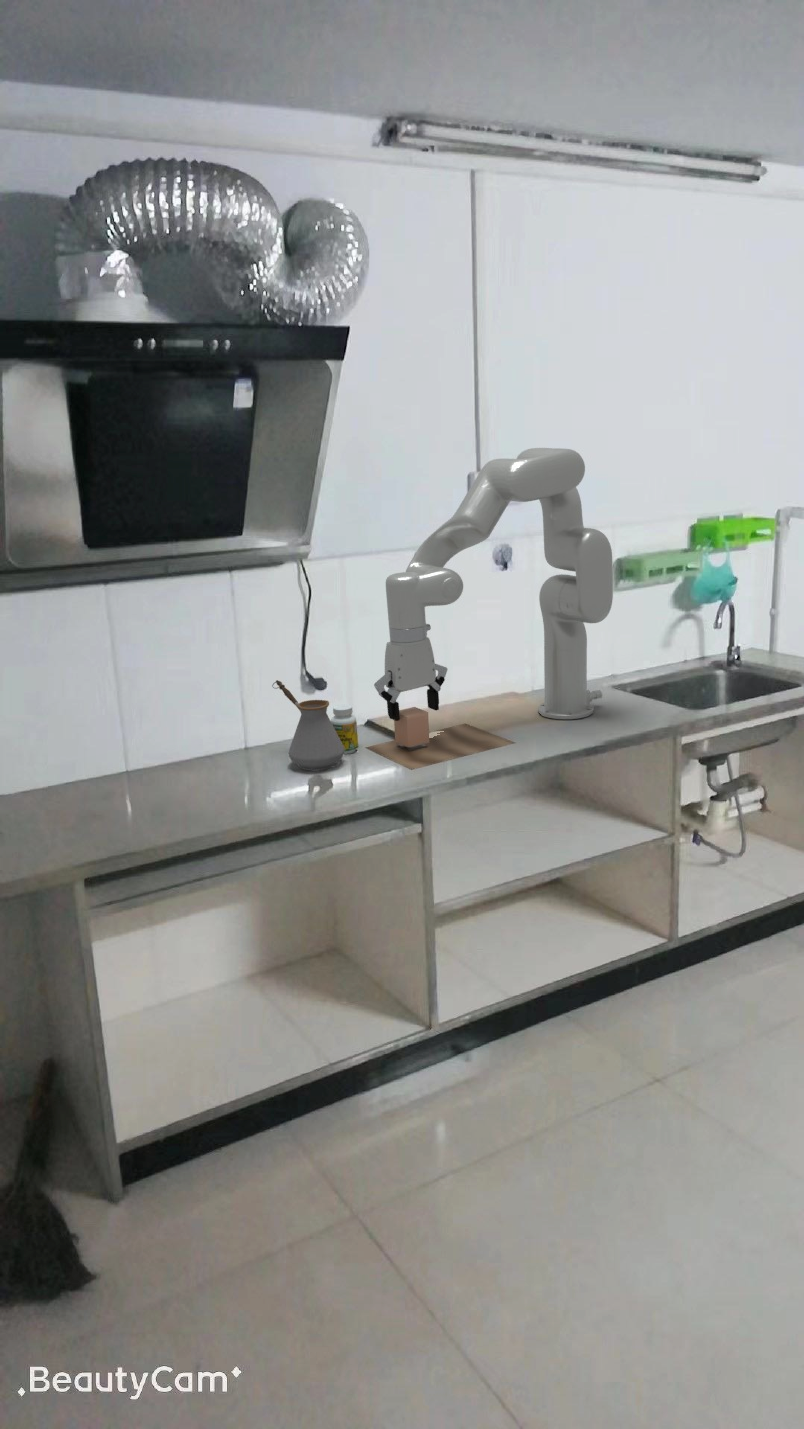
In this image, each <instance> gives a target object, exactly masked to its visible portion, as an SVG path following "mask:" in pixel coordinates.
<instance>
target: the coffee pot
mask: <svg viewBox="0 0 804 1429" xmlns="http://www.w3.org/2000/svg"><path fill="white" fill-rule="evenodd" d="M275 684H276V686H277V687H274V685H275ZM271 687H272V688H273V689H275V690H276V689H279V690H282V693H284V694H283V695H284V696H286V698H287V699H289V701H290V702H291V703H292V704H293V705H294V706H295V707H296V708H297V709H298V710H299V712H300V718H299V721H298V723H297V726H296V728H295V732H294V734H293V738H292V740H291V743H290V746H289V749H288V757H289V759H290V760H291V761H292V762H293V763H294V764H295V765H297V766H298V767H299V768H300V769H302V770H306V771H324V770H327V769H330V768H333V767H335V766H336V765H337V763H338V762H339V761H341V759H343V756H344V755H345V754H344V751H345V748H344V746H343V744H342V742H341V740H340V738H339V736H338V735H337V733H336V731H335V729H334V727H333V725H332V723H331V719H330V718H329V715H328V713H327V711H328V707H329V706H330V702H329V700H325V699H324V700H323V699H311V700H310V699H309V700H304V701H301V702H299V701H298V700H297V699H296V698H295V696H294V695H293V694H292V692H291V691H290V690H289V689H288V688H286V685H285V684H283V682H282V681H280V680H275V682H273V683H272V685H271Z"/></svg>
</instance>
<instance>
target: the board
mask: <svg viewBox="0 0 804 1429" xmlns="http://www.w3.org/2000/svg"><path fill="white" fill-rule="evenodd" d="M435 731H444V732H440V733H437V734H440V735H437V736H434V737H433V738H429V743H425V744H424V745H427V747H425V748H421V749H416V750H412V751H407V750H405V749H403V748H401V747H399V746H398V745H399V743H397V742H395V739H394V740H391V741H386V742H383V743H378V744H374V745H370V746H366V747H365V749H367V750H369V751H372V752H373V753H375V754H376V755H379V756H382V757H384V758H386V759H388V760H390V761H392V762H394V763H396V764H398V765H401V766H402V767H404V768H407V769H409V770H411V771H412V770H416V769H420V768H424V767H428V766H432V765H435V764H439V763H444V762H447V761H452V760H455V759H458V758H459V759H460V758H462V757H466V756H470V755H474V754H478V753H483V752H487V751H490V750H493V749H496V748H497V749H498V748H501V747H506V746H509V745H513V744H516V742H515V741H512V740H509V739H507V738H504V737H502V736H500V735H497V734H495V733H491V732H489V731H486V730H484V729H480V728H478V727H476V726H473V725H471V726H470V724H468V723H462V724H458V725H455V726H448V727H445V728H441V729H436V730H435Z"/></svg>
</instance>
